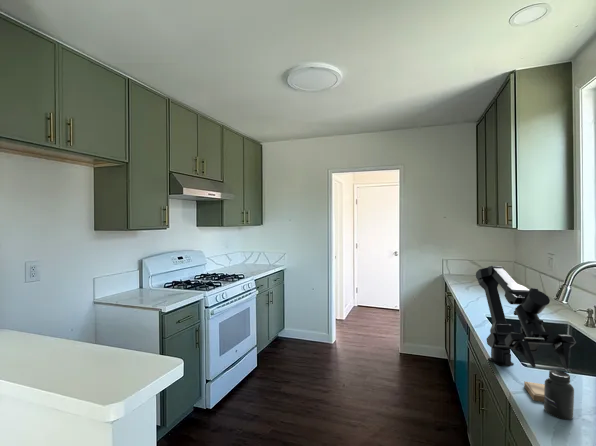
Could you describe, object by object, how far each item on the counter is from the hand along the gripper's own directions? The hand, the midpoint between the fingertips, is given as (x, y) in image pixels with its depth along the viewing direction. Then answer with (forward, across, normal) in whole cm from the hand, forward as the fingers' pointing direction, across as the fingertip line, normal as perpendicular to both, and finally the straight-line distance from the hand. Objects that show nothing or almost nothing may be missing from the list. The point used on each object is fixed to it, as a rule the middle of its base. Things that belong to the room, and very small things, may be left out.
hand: (550, 368), depth 99 cm
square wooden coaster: (+4, -2, -12) cm, 13 cm away
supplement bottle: (+11, 0, -6) cm, 13 cm away
